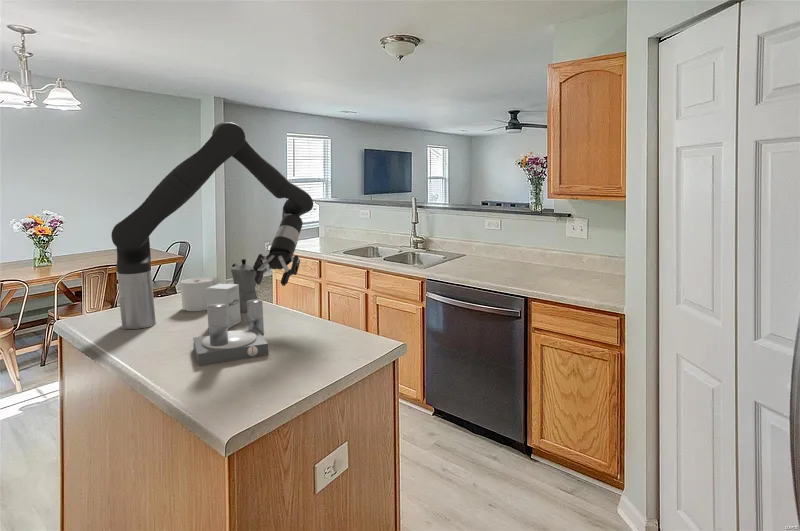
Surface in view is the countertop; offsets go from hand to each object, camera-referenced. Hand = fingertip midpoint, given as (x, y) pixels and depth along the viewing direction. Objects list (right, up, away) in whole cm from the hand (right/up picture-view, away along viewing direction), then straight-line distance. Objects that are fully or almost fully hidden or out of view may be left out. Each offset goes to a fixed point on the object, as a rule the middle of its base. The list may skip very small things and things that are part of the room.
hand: (270, 283), depth 152 cm
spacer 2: (-2, -15, -7) cm, 16 cm away
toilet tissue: (-31, -10, +24) cm, 40 cm away
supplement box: (-15, -13, +2) cm, 20 cm away
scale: (-5, -17, -22) cm, 28 cm away
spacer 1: (-6, -14, -26) cm, 31 cm away
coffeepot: (-14, -10, +21) cm, 27 cm away
